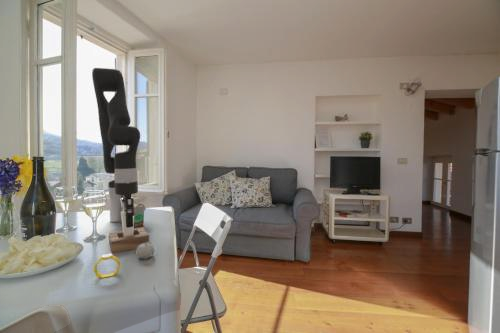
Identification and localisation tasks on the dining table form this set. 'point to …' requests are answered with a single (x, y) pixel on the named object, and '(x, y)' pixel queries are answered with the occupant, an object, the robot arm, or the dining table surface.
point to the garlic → (145, 250)
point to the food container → (139, 216)
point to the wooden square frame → (127, 240)
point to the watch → (106, 257)
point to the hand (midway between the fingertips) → (128, 224)
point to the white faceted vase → (126, 230)
